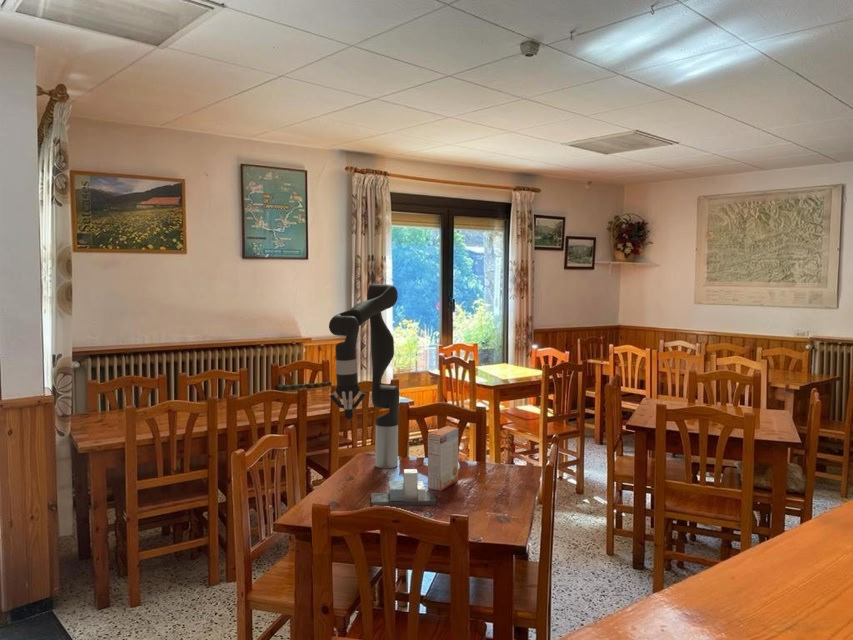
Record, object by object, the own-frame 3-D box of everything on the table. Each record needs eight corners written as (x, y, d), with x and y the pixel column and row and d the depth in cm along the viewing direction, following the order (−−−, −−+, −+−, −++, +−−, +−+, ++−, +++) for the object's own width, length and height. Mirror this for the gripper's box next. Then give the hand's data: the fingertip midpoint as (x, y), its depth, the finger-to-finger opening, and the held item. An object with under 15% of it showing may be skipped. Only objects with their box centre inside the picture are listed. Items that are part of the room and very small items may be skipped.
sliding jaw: (388, 492, 223) (388, 481, 223) (403, 491, 224) (403, 480, 224) (390, 501, 214) (390, 489, 214) (404, 500, 215) (404, 489, 215)
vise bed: (371, 497, 223) (371, 482, 222) (433, 495, 225) (433, 480, 225) (371, 506, 214) (371, 490, 213) (436, 504, 216) (436, 489, 216)
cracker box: (444, 478, 245) (445, 425, 243) (458, 481, 241) (459, 427, 240) (426, 488, 233) (427, 432, 231) (440, 491, 229) (441, 435, 228)
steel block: (403, 494, 222) (403, 469, 221) (416, 494, 222) (416, 469, 222) (404, 498, 217) (404, 473, 217) (417, 498, 218) (417, 473, 217)
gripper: (366, 368, 229) (368, 415, 231) (329, 370, 229) (332, 416, 231) (364, 373, 221) (366, 421, 223) (326, 374, 221) (329, 422, 223)
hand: (349, 418), depth 227 cm, fingers closed
